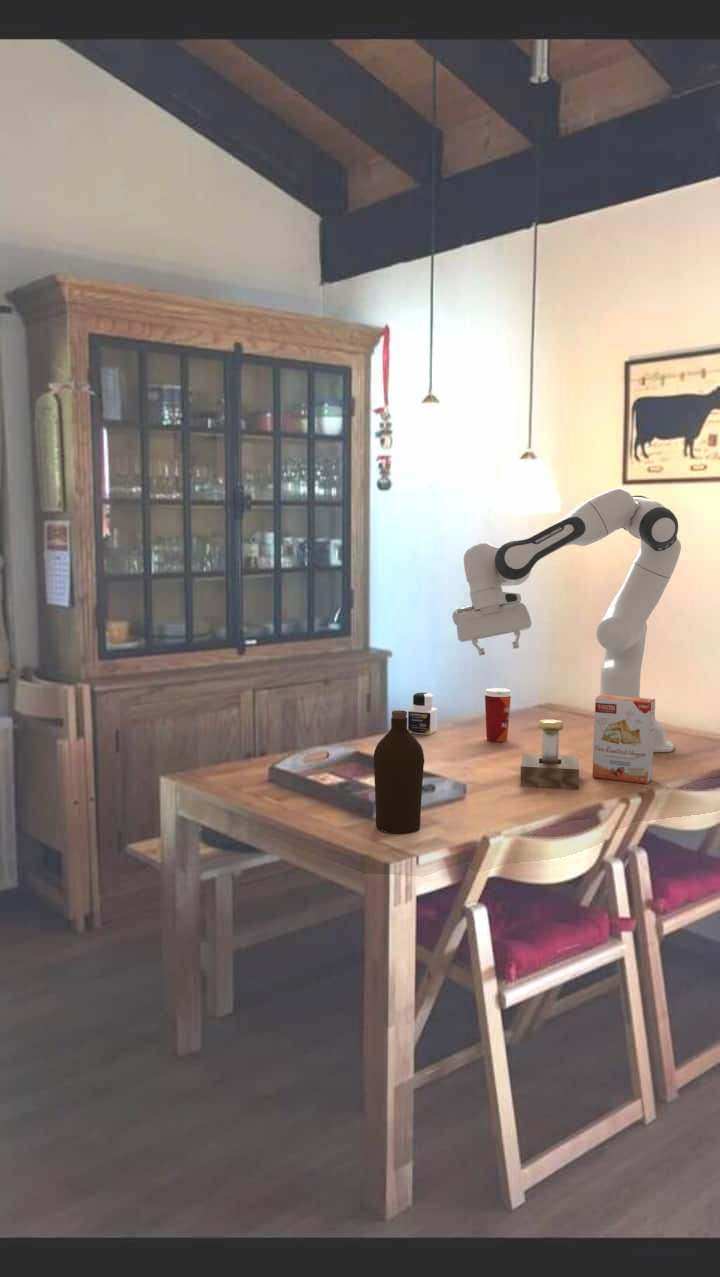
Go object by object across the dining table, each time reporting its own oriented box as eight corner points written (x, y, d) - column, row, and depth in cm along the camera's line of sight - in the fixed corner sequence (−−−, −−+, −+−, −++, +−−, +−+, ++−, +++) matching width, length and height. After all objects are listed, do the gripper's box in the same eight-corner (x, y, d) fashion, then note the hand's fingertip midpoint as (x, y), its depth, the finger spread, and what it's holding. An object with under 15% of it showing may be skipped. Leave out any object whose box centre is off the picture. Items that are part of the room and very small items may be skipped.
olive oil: (396, 838, 213) (398, 718, 210) (362, 826, 221) (363, 710, 218) (433, 828, 220) (435, 712, 217) (398, 817, 228) (400, 705, 225)
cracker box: (591, 778, 264) (594, 696, 261) (597, 773, 269) (600, 693, 267) (647, 785, 257) (651, 701, 255) (652, 779, 263) (655, 698, 260)
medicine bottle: (407, 733, 317) (408, 694, 315) (415, 728, 323) (415, 690, 322) (429, 735, 314) (430, 696, 313) (437, 730, 321) (437, 692, 319)
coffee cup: (512, 742, 304) (513, 692, 303) (484, 742, 305) (485, 691, 303) (508, 736, 313) (510, 687, 311) (481, 736, 313) (482, 687, 311)
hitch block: (577, 775, 266) (578, 756, 266) (578, 789, 253) (579, 769, 252) (522, 772, 269) (522, 753, 268) (520, 786, 255) (520, 766, 255)
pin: (561, 778, 263) (563, 720, 261) (561, 784, 257) (563, 724, 256) (537, 777, 264) (539, 719, 263) (537, 783, 258) (538, 723, 257)
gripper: (451, 608, 281) (462, 657, 279) (525, 593, 281) (537, 642, 279) (450, 611, 287) (460, 660, 285) (522, 597, 287) (533, 646, 285)
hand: (499, 651), depth 282 cm, fingers open, 8 cm apart
